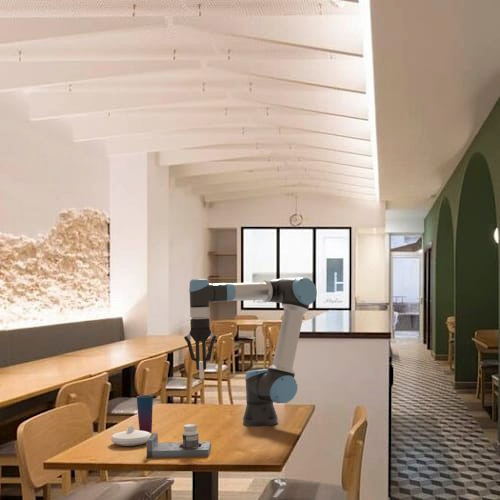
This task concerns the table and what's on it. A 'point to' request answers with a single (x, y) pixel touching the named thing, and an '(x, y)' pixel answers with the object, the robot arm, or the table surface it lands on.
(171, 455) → the jig
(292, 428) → the table surface
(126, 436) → the lid
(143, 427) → the cup
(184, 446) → the pill bottle
